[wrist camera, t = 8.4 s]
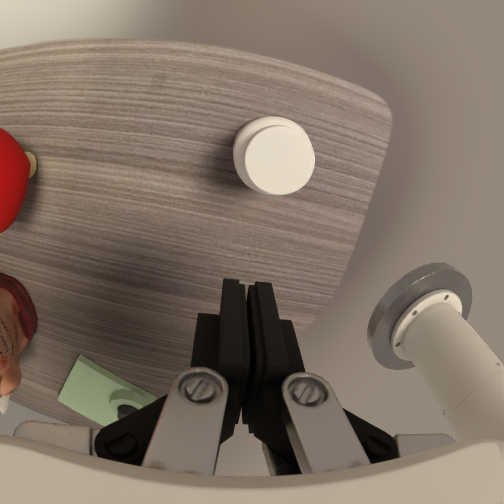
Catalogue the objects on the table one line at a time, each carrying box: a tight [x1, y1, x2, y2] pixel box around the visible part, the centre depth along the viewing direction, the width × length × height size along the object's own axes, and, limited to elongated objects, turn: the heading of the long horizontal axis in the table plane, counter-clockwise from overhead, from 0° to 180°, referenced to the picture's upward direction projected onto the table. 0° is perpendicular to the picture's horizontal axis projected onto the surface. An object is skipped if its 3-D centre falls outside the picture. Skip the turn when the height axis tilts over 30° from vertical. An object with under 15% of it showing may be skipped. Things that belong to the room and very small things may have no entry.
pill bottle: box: [233, 116, 315, 195], centre depth 20 cm, size 5×5×9 cm
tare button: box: [117, 404, 138, 419], centre depth 33 cm, size 3×3×2 cm
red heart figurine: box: [0, 128, 37, 233], centre depth 18 cm, size 9×7×10 cm
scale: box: [57, 354, 156, 426], centre depth 35 cm, size 12×14×3 cm
